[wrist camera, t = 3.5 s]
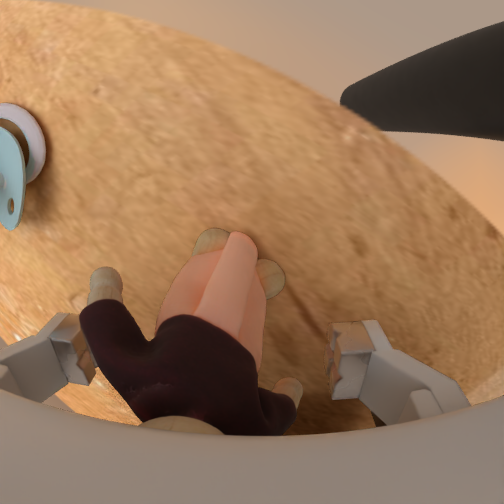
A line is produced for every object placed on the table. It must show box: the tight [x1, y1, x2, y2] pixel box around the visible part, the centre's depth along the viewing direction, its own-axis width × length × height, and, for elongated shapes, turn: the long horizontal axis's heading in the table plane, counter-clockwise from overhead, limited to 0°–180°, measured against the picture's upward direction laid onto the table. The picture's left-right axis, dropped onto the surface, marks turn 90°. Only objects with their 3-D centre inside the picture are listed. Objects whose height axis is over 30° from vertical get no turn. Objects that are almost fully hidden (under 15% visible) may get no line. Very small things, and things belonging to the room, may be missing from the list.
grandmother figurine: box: [79, 228, 303, 436], centre depth 8 cm, size 8×4×13 cm, turn 65°
